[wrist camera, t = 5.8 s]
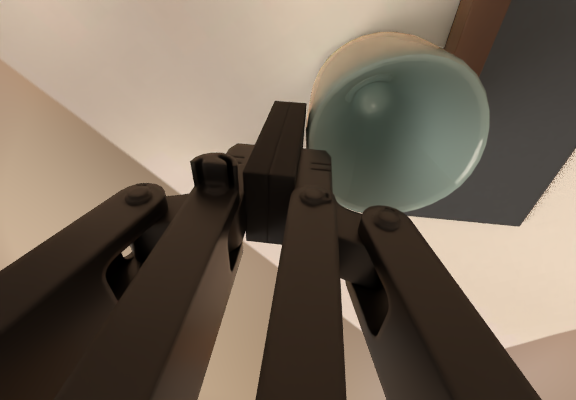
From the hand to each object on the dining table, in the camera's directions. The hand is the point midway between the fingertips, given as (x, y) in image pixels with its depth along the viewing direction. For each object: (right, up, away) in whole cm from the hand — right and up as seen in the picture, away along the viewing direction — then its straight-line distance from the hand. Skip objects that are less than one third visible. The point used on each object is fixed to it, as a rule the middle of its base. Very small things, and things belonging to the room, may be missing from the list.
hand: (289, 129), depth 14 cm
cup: (+6, +5, +7) cm, 10 cm away
